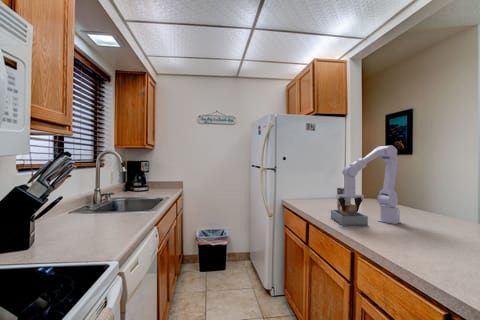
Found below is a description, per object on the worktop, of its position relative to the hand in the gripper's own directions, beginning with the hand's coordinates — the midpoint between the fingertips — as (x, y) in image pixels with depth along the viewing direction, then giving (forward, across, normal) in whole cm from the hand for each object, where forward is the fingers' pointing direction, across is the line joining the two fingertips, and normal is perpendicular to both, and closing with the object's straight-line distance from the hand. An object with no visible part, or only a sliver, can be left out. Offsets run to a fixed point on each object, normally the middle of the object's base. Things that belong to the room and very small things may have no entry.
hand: (350, 211), depth 140 cm
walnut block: (+1, 0, 0) cm, 1 cm away
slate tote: (+7, 0, -4) cm, 8 cm away
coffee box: (+7, -9, -32) cm, 34 cm away
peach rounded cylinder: (+6, 0, -8) cm, 10 cm away
